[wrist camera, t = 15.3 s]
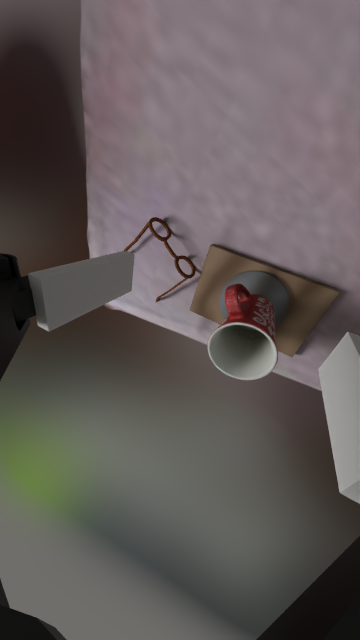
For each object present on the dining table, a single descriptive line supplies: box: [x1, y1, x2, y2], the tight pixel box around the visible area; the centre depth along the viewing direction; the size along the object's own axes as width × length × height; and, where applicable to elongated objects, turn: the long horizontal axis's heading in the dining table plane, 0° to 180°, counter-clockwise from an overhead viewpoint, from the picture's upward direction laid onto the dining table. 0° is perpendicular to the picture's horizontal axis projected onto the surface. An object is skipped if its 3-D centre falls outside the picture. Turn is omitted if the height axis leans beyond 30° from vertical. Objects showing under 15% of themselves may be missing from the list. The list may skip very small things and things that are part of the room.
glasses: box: [124, 217, 195, 302], centre depth 44 cm, size 13×13×5 cm
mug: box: [208, 283, 278, 380], centre depth 33 cm, size 13×9×14 cm
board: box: [190, 244, 340, 357], centre depth 39 cm, size 22×14×2 cm, turn 74°
